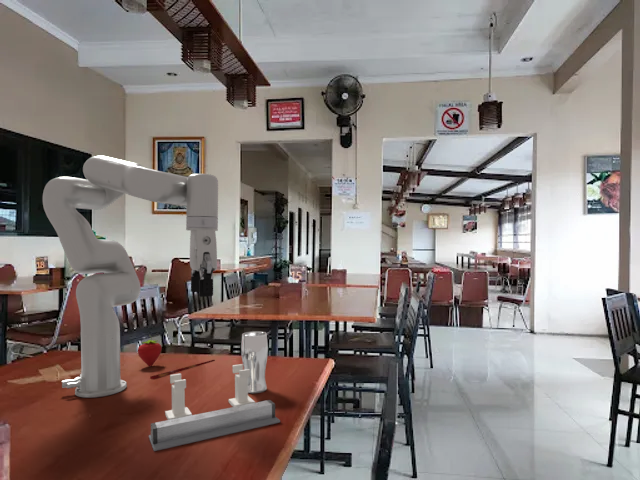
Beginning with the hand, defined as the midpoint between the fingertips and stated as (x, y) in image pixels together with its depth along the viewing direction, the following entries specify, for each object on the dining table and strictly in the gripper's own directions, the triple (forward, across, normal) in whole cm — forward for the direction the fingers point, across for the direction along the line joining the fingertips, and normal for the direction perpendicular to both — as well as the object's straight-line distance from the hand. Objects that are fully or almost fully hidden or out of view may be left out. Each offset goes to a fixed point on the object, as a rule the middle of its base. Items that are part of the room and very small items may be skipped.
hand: (201, 294), depth 109 cm
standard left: (+27, -6, +6) cm, 28 cm away
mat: (+27, -18, 0) cm, 32 cm away
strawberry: (+28, +43, +7) cm, 52 cm away
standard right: (+27, -5, -9) cm, 29 cm away
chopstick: (+28, +34, -2) cm, 44 cm away
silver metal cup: (+27, +3, -15) cm, 31 cm away
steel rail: (+26, -17, 0) cm, 31 cm away
